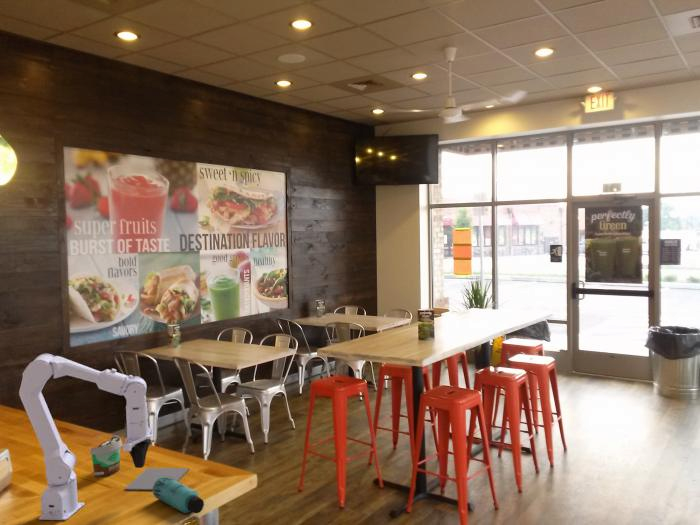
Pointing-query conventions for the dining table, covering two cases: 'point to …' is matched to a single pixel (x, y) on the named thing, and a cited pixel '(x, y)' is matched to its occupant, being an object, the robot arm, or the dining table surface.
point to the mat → (155, 477)
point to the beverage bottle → (177, 495)
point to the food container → (106, 457)
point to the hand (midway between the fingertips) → (139, 466)
